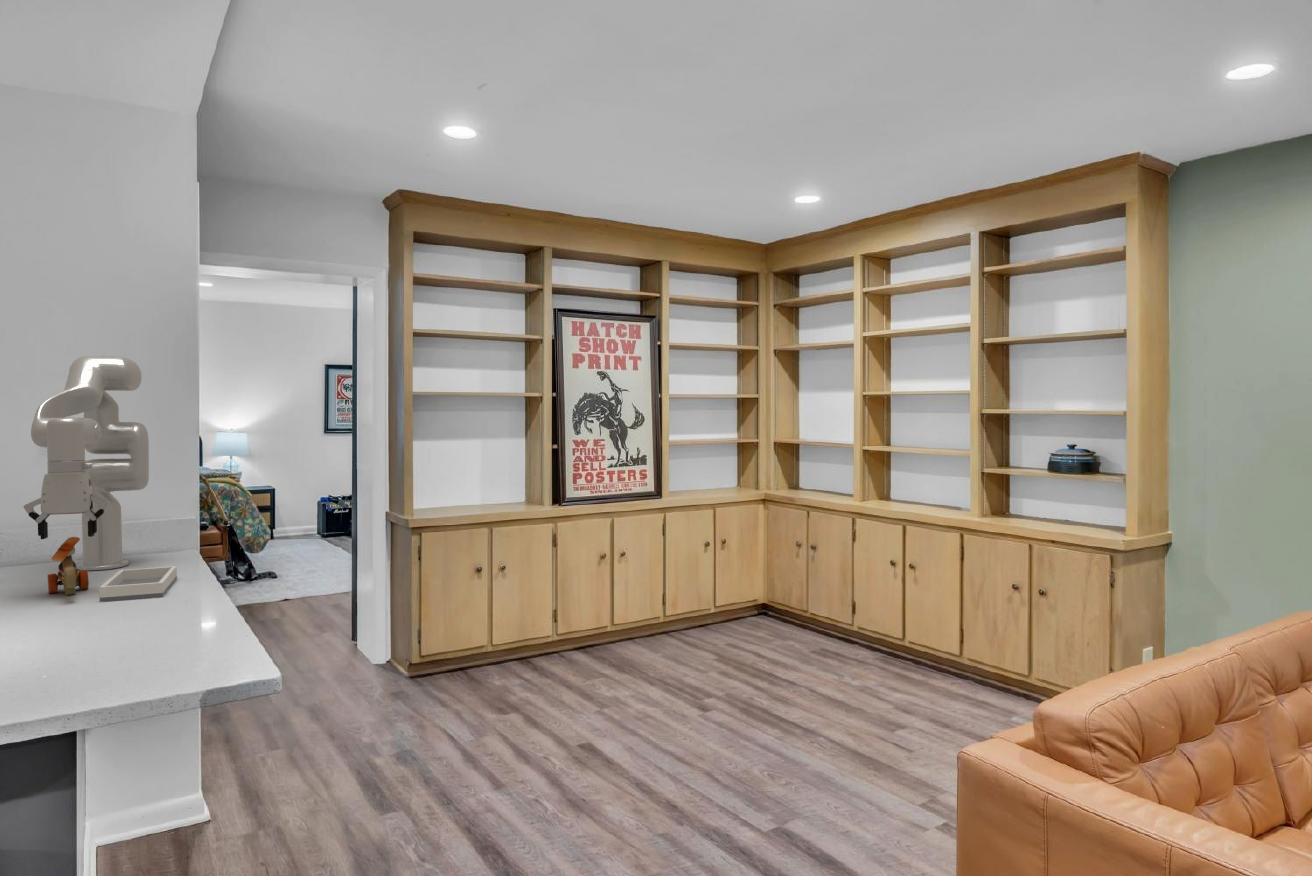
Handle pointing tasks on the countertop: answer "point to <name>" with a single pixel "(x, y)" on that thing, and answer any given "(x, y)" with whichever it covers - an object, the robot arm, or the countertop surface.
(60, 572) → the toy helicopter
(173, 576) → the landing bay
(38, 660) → the countertop surface
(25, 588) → the countertop surface
